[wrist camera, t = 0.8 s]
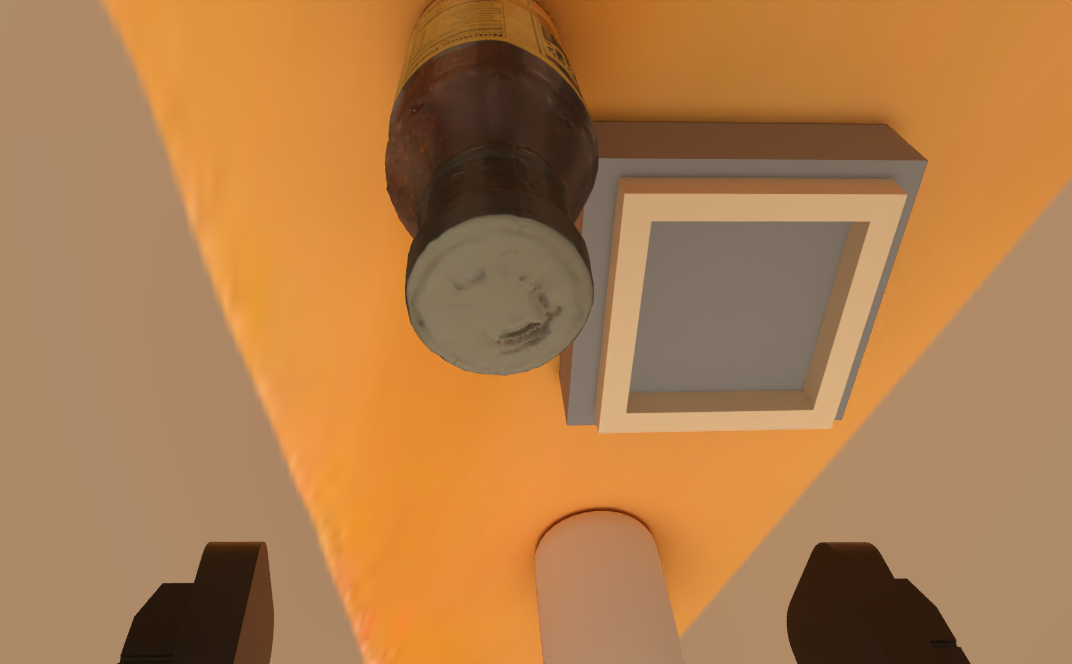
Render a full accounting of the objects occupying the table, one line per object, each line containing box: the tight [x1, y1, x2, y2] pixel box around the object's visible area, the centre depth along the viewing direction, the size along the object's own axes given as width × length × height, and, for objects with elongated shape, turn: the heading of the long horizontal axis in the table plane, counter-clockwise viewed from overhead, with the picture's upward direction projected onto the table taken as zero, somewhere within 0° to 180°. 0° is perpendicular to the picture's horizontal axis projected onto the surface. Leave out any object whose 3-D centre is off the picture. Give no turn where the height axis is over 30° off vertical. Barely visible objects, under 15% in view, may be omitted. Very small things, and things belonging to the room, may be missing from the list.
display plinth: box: [559, 121, 928, 433], centre depth 38 cm, size 14×14×6 cm
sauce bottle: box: [385, 0, 599, 376], centre depth 26 cm, size 6×6×20 cm
